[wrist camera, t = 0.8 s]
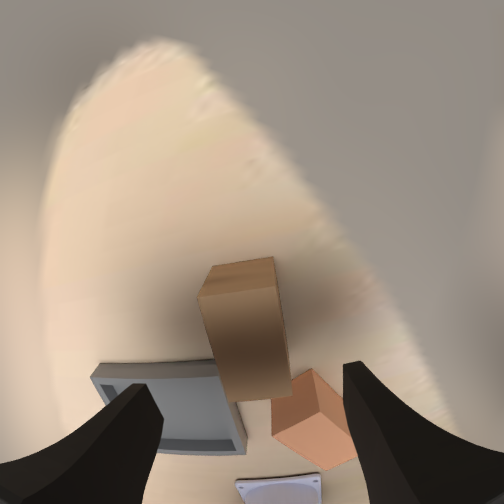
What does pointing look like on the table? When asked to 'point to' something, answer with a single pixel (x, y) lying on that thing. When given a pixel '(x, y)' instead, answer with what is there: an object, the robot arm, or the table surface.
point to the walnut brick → (247, 329)
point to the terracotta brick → (313, 422)
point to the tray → (182, 404)
